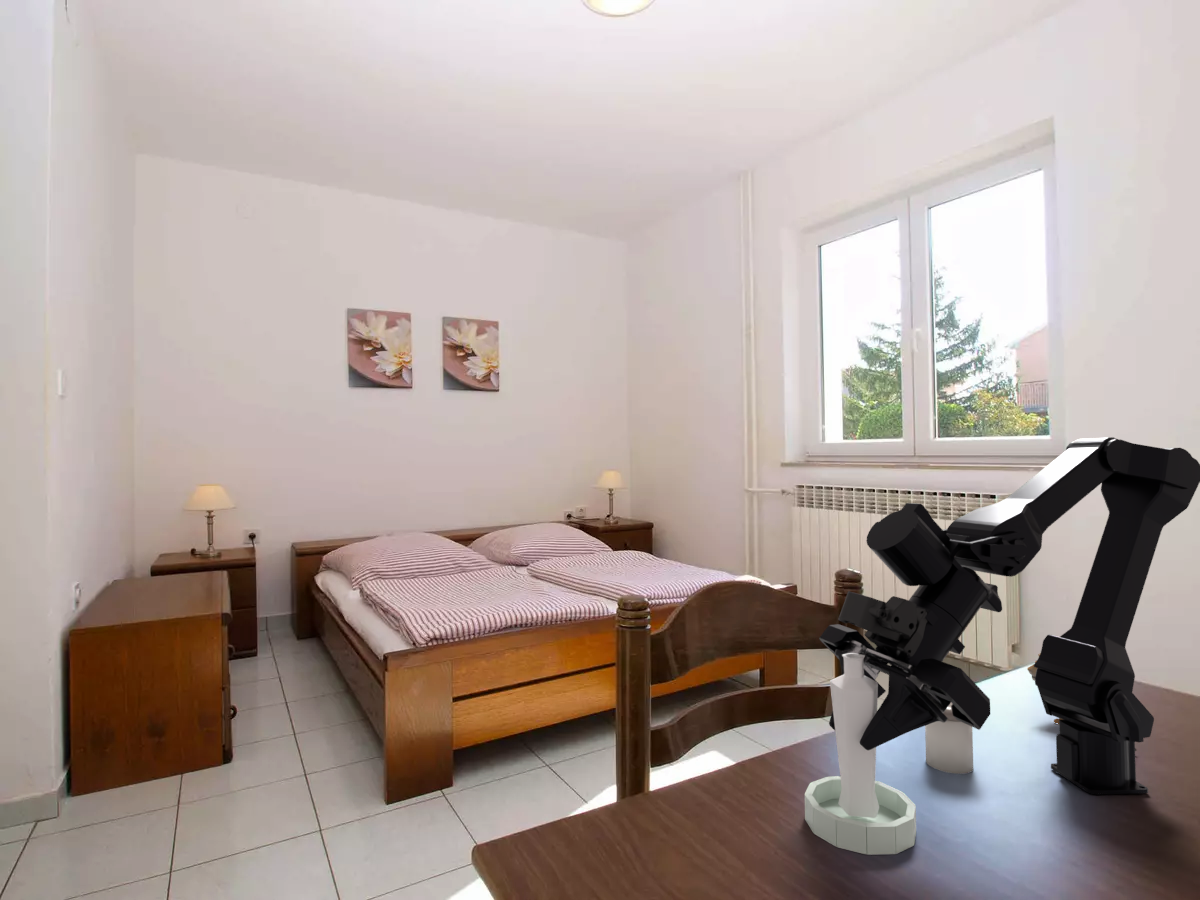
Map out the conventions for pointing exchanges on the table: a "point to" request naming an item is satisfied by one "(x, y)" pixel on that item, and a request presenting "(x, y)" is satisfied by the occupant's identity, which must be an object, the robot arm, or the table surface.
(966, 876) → the table surface
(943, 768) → the cream jar
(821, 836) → the ring dish
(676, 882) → the table surface
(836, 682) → the white faceted vase
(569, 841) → the table surface
